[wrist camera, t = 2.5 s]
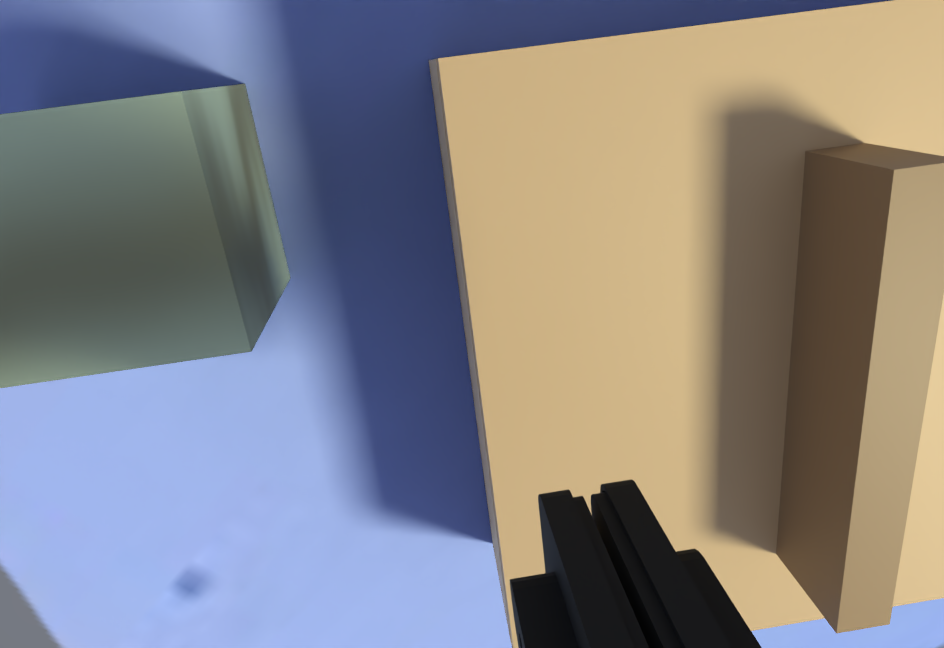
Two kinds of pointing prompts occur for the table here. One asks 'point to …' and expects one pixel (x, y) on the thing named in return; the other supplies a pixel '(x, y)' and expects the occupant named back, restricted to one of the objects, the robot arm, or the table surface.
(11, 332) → the green block
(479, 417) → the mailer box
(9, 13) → the table surface
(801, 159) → the mailer lid
